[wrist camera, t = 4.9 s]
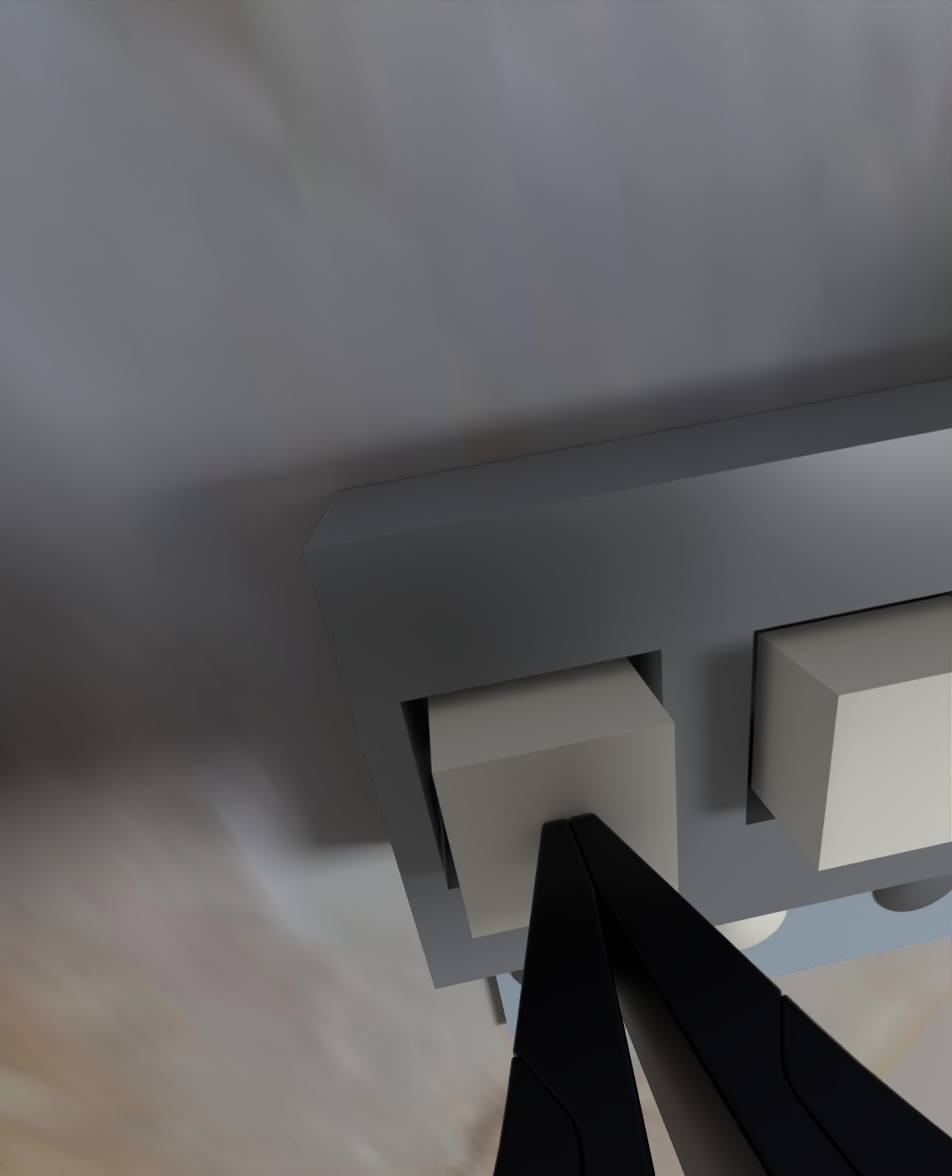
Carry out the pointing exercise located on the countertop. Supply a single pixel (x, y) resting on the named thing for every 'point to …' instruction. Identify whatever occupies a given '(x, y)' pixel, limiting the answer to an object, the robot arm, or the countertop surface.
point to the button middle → (858, 732)
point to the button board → (635, 618)
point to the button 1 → (549, 777)
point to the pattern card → (821, 932)
